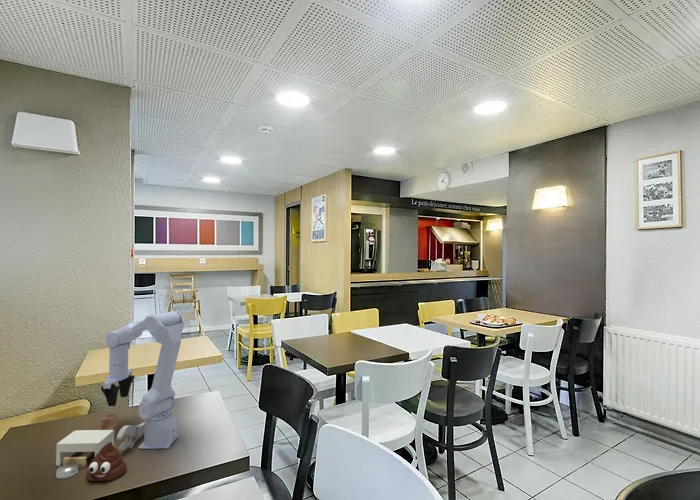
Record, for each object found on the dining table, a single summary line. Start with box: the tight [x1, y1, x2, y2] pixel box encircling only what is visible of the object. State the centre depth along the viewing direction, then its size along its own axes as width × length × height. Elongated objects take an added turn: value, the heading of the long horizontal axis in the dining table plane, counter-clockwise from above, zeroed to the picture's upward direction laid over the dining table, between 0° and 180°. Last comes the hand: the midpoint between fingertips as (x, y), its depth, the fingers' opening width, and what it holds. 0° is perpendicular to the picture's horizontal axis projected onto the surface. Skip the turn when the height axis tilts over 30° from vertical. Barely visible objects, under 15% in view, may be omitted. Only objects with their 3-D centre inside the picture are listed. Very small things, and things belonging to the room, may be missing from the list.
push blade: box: [62, 414, 118, 469], centre depth 116 cm, size 6×19×7 cm, turn 4°
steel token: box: [55, 462, 79, 480], centre depth 104 cm, size 5×5×2 cm
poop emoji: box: [85, 442, 127, 482], centre depth 104 cm, size 10×8×9 cm
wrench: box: [116, 412, 172, 451], centre depth 127 cm, size 8×2×30 cm
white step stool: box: [55, 429, 115, 467], centre depth 112 cm, size 12×8×6 cm, turn 94°
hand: (118, 401), depth 130 cm, fingers open, 7 cm apart
